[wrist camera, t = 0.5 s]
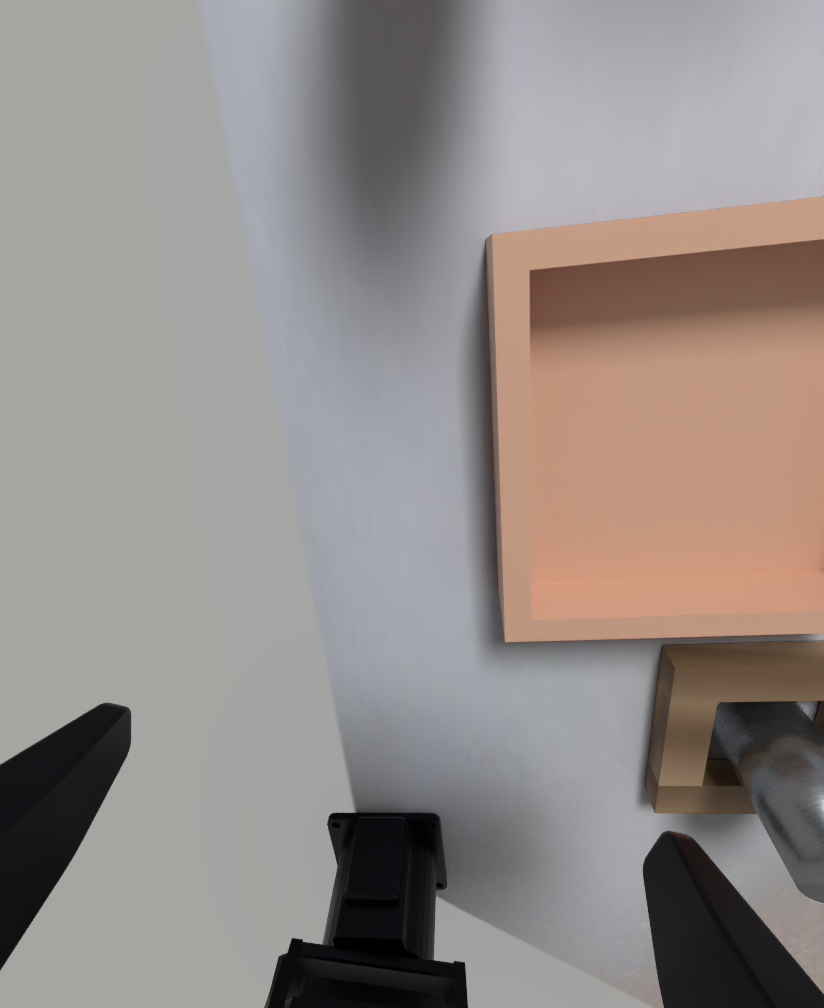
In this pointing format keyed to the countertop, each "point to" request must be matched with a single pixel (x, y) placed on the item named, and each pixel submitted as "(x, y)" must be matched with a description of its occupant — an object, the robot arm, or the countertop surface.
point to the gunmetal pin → (780, 780)
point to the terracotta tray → (660, 424)
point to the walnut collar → (692, 707)
